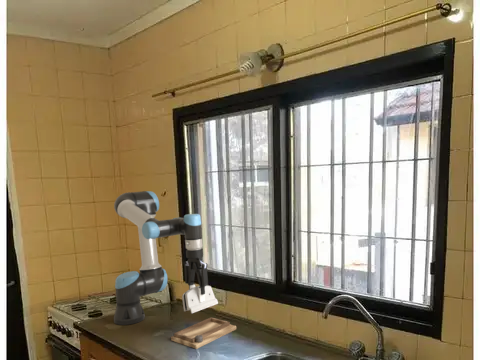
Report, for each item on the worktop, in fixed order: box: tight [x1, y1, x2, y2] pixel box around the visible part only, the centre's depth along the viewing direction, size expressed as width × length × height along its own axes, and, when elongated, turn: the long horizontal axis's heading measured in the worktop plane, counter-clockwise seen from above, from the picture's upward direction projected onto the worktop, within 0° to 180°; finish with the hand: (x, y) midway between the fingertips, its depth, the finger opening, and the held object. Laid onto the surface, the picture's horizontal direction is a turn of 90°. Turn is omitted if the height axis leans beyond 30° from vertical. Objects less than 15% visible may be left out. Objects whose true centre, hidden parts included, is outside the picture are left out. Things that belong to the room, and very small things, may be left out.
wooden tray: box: [170, 316, 237, 350], centre depth 181 cm, size 16×25×4 cm, turn 140°
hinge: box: [182, 285, 219, 314], centre depth 181 cm, size 17×5×10 cm, turn 139°
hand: (197, 300), depth 181 cm, fingers closed on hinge, 5 cm apart
